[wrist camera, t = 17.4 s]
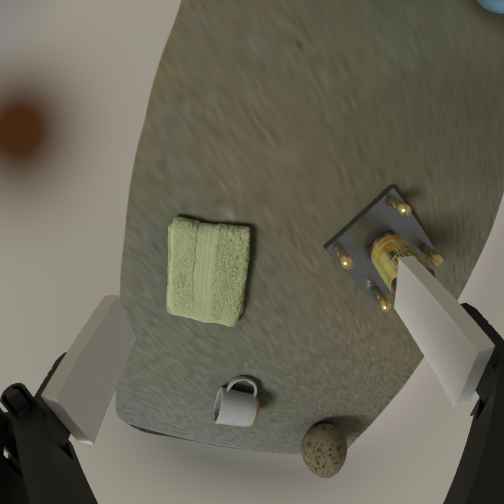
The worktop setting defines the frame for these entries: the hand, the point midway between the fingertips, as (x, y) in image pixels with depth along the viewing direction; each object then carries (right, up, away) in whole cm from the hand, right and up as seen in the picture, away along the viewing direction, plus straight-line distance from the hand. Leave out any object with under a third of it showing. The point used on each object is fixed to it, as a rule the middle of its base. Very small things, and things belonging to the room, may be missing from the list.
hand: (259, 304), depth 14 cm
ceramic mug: (-3, -26, +47) cm, 54 cm away
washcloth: (-7, -1, +36) cm, 36 cm away
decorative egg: (+17, -41, +53) cm, 69 cm away
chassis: (+20, +3, +33) cm, 39 cm away
